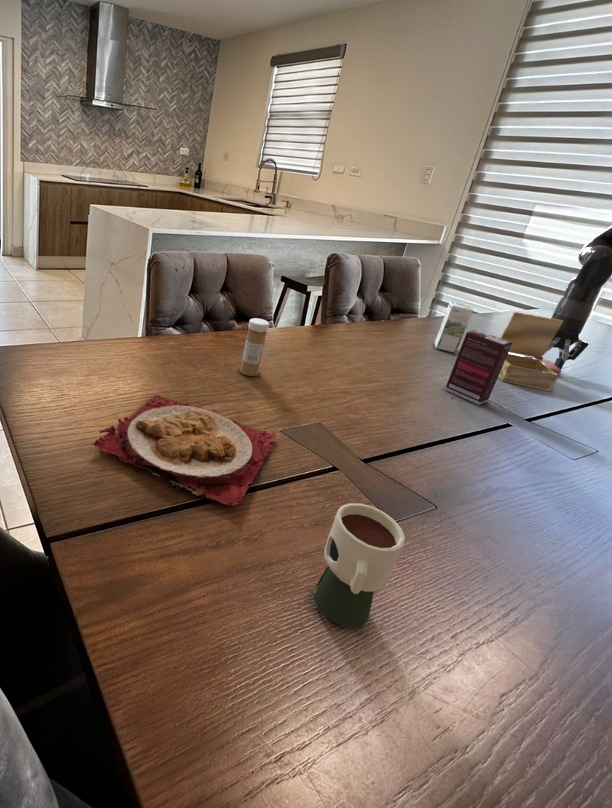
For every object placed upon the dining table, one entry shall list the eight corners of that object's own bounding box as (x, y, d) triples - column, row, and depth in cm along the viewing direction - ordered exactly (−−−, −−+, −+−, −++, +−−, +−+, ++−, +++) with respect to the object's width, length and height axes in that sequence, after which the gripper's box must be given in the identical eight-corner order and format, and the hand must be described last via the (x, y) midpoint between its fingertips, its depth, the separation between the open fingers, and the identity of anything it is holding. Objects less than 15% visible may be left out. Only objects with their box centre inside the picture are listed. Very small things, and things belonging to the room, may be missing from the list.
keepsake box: (550, 391, 125) (558, 375, 123) (502, 381, 128) (509, 365, 126) (533, 374, 135) (540, 359, 134) (488, 364, 138) (494, 350, 136)
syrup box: (453, 348, 148) (470, 304, 143) (456, 354, 143) (473, 309, 138) (433, 343, 150) (450, 300, 145) (435, 349, 145) (452, 304, 140)
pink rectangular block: (530, 363, 144) (533, 357, 143) (547, 366, 143) (550, 360, 142) (541, 373, 137) (543, 366, 136) (558, 376, 136) (561, 370, 135)
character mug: (315, 562, 62) (341, 484, 57) (372, 587, 60) (404, 507, 55) (301, 631, 53) (330, 545, 48) (367, 663, 50) (406, 575, 45)
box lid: (563, 321, 127) (562, 320, 127) (515, 312, 129) (514, 311, 130) (541, 358, 133) (540, 356, 134) (495, 349, 136) (494, 347, 136)
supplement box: (488, 401, 115) (514, 342, 108) (479, 406, 112) (505, 345, 106) (452, 386, 121) (475, 328, 115) (443, 389, 118) (466, 331, 112)
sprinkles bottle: (260, 372, 115) (272, 321, 110) (254, 378, 111) (265, 326, 106) (243, 366, 117) (253, 316, 112) (236, 372, 113) (246, 320, 108)
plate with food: (235, 516, 69) (240, 498, 67) (90, 450, 78) (92, 432, 77) (275, 441, 89) (279, 426, 87) (156, 395, 98) (158, 381, 97)
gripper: (593, 315, 135) (566, 369, 141) (536, 305, 138) (513, 358, 145) (607, 323, 128) (578, 379, 135) (548, 313, 131) (522, 367, 138)
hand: (544, 368), depth 140 cm, fingers closed on pink rectangular block, 4 cm apart
